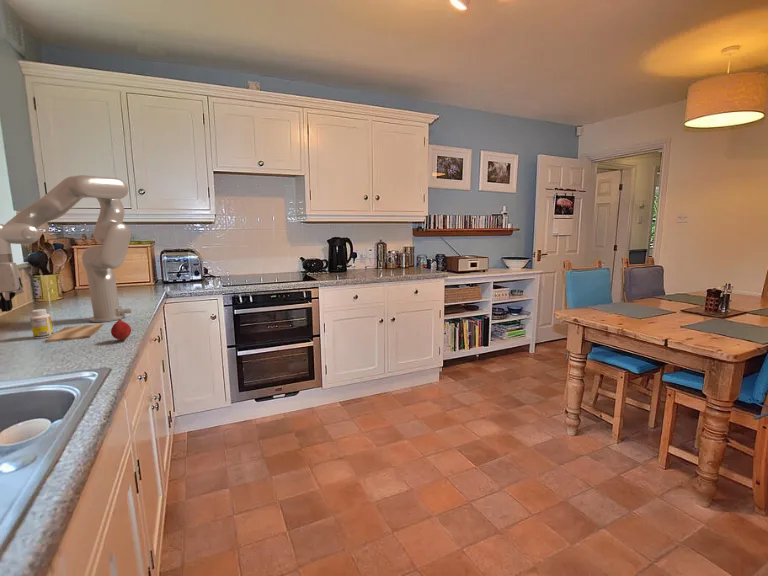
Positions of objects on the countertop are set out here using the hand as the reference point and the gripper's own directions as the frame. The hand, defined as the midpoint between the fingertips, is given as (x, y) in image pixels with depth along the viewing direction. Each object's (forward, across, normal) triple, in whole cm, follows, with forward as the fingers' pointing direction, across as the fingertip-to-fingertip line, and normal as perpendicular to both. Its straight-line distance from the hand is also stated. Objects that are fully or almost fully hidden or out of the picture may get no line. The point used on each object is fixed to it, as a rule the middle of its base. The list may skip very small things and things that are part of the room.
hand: (6, 310), depth 138 cm
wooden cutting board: (+11, +19, 0) cm, 22 cm away
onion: (+11, +38, -18) cm, 44 cm away
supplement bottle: (+11, +9, 0) cm, 14 cm away
